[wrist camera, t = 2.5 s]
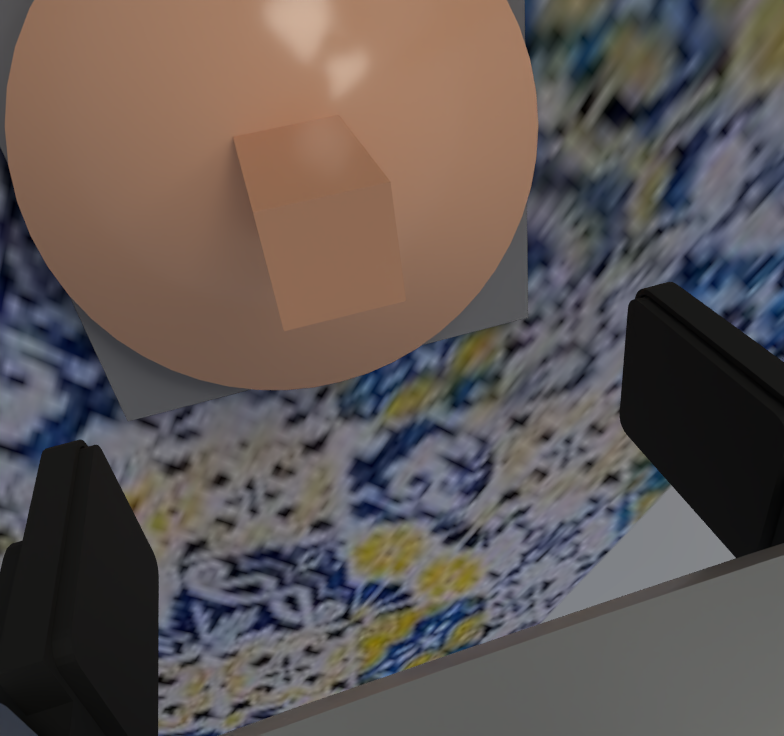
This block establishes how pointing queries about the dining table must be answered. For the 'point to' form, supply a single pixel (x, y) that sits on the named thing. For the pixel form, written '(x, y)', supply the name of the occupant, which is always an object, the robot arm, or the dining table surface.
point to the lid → (271, 173)
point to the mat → (175, 390)
